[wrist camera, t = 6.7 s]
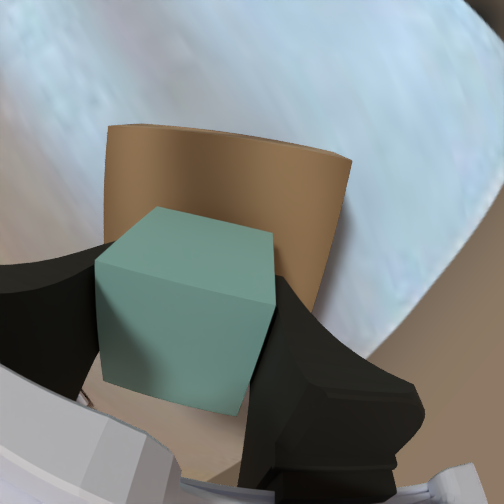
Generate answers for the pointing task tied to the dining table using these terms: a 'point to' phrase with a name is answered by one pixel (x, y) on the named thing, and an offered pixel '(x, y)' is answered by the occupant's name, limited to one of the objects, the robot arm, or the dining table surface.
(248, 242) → the teal block
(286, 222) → the walnut box
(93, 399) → the dining table surface
